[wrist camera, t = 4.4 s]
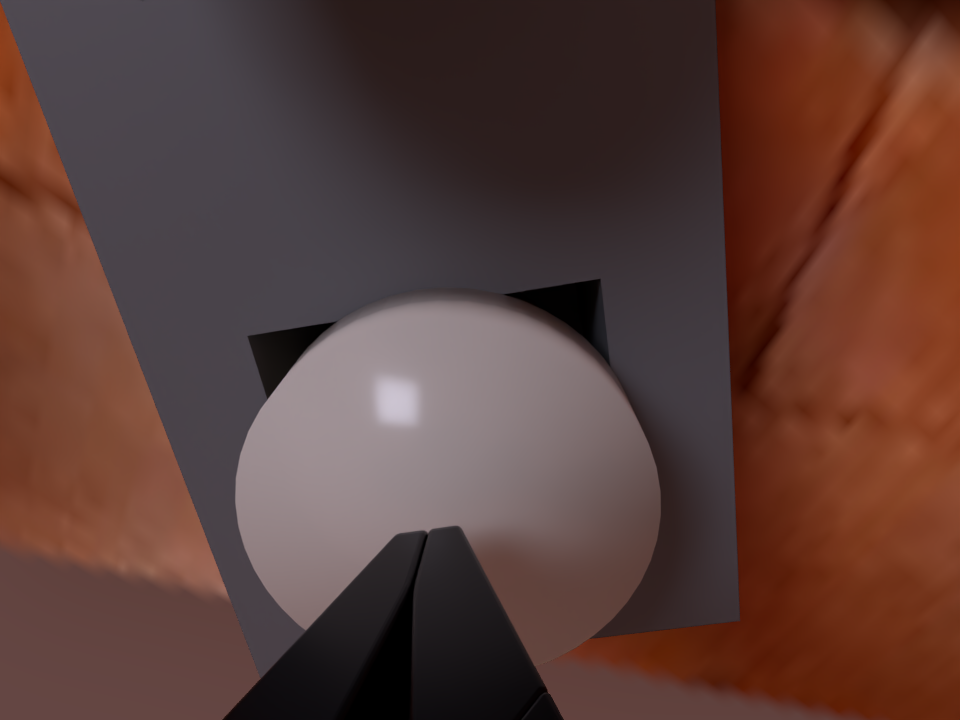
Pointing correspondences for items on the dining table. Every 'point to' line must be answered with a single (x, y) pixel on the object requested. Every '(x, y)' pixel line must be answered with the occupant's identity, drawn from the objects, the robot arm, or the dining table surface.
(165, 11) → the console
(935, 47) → the dining table surface
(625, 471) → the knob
